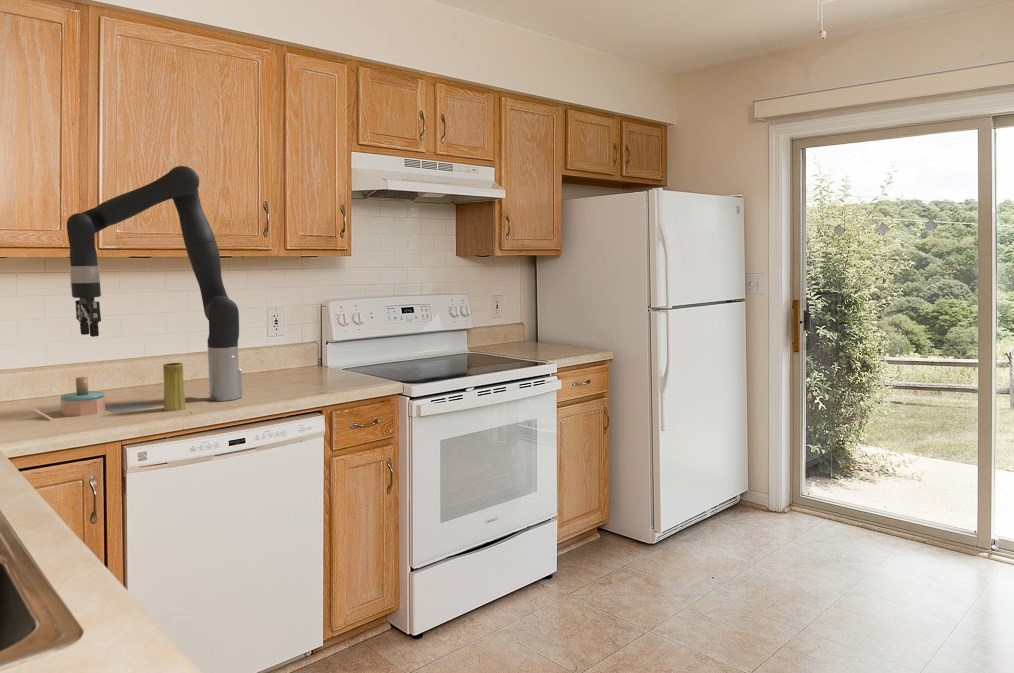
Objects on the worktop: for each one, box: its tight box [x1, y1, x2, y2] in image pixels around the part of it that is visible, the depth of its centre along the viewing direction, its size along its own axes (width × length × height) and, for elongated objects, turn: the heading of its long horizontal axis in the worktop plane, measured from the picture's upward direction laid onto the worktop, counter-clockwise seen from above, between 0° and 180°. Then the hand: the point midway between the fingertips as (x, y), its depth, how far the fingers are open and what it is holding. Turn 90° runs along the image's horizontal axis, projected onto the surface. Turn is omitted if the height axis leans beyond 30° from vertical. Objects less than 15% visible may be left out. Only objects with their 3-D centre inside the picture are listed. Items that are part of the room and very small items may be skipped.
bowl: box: [60, 395, 106, 417], centre depth 216 cm, size 10×10×5 cm
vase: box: [162, 362, 187, 412], centre depth 220 cm, size 6×6×14 cm
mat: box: [105, 401, 156, 413], centre depth 223 cm, size 12×12×1 cm
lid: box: [60, 376, 105, 401], centre depth 215 cm, size 11×11×6 cm
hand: (89, 335), depth 219 cm, fingers open, 8 cm apart
